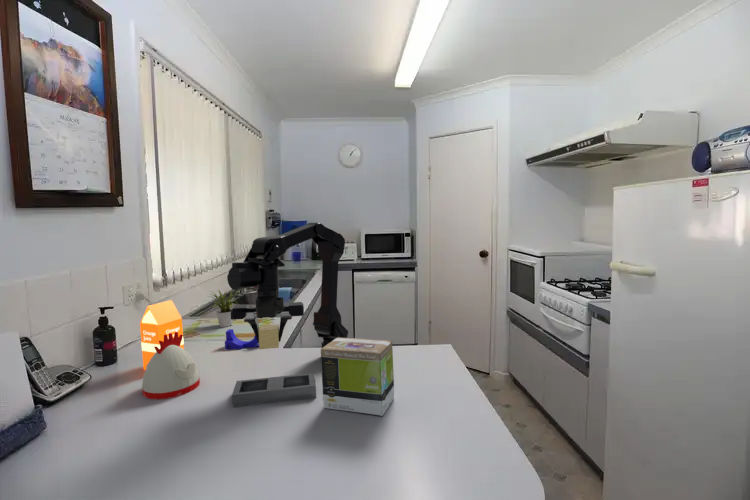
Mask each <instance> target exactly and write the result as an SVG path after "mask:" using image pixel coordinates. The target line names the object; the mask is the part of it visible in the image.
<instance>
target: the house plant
mask: <svg viewBox="0 0 750 500" xmlns="http://www.w3.org/2000/svg"><path fill="white" fill-rule="evenodd" d="M216 291H217V292H218V294H219V296H218V295H217V294H216V293H215V292H214V291H211V290H210V292H211V293H210V295H212V296H210V295H209V296H207V297H209V298H212V299H214V302H213V304H211V305H212V309H215V308H217V309H218V310H217V311H216V316H217V321H218V324H219V327H220V326H221V327H220V328H227V327H226V326H229V327H231V326H230V325H232V324H234V320H232V319H231V310H232V308H233V304H234V305H237V300H233V298H234V297H235V296H236V294H237V293H239V292H240V290H237V291H236V292H235V293H232V291H230V293H229V295H228V297H227V299H226V293H227V291H228V290H225V291H224V294H222V293H221V291H220V289H218V290H216ZM213 296H214V297H213ZM232 300H233V301H232ZM232 326H233V325H232Z"/></svg>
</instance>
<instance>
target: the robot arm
mask: <svg viewBox="0 0 750 500" xmlns="http://www.w3.org/2000/svg"><path fill="white" fill-rule="evenodd" d="M309 240H311V242H313V243H314V244H315V245H316V246H317V251H318V255H319V257H320V258H321V261H322V268H321V289H320V291H321V292H320V293H321V296H320V297H321V298H320V307H319V308H318V310H317V311H314V312H313V323H312V325H313V328H314V331H316V334H317V337H318V338H322V341H321V342H320V345H321V346H320V349H321V348H323V347H324V346H326V345H327V344H329V343H330V342H332V341H333V340H334V339H336V338H337V337H340V338H348V335H349V330H348V329H347V328H346V327H345V326H344V325H343V324H342V316H341V313H340V312H339V309H338V305H337V304H338V282H339V281H338V280H339V261H340V260H341V258H342V256H343V255H344V251H345V247H346V239H345V237H344V236H343V235H342V234H341V233H338V232H336V231H335V230H333V229H331V228H328V227H326V226H325V225H324V224H322V223H321V222H308V223H306V224H305V225H301V226H299V227H296V228H294V229H291V230H289V231H286V232H284V233H281V234H278V235H271V236H262V237H257V238H256V239H253V241H252V244H251V247H250V249H249V252H248V253H247V255H246V257H244V260H243V262H240V261H239V262H237V261H236V262H232V263H231V267H230V269H229V270H228V273H227V284H228V285H229V287H230V288H231V290H233V291H240V290H243V289H249V288H250V289H251V288H256V299H255V307H249V304H234V305H233V306H232V308H231V309H232V310H231V319H232V320H233V321H234V320H236V321H237V320H243V322H244V323H248V325H250V327H251V329H252V330H253V334H254V337H255V336H256V338H257V341H258V343H259V328H260V326H259V325H260V324H259V319H265V318H269V319H272V318H275V317H277V314H280V320H279V342H281V340H282V337H283V334H284V329H285V327H286V324H288V323H287V322H288V321H290V320H292V319H293V317H304V316H305V311H304V310H305V306H304V305H305V304H304V303H303V302H302V301H294V302H293V301H292V302H291V301H290V302H288V305H285V303H284V302H285V301H284V300H285V299H284V297H283V296H281V297H280V290H279V289H280V287H279V268H281V267H285V266H286V265H285V263H284V262H283V261H281V260H280V257H282V256H283V255H285V254H286V253H287V251H288V249H290V248H292V247H295V246H297V245H299V244H302V243H305V242H306V241H309Z"/></svg>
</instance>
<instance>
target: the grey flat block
mask: <svg viewBox="0 0 750 500" xmlns="http://www.w3.org/2000/svg"><path fill="white" fill-rule="evenodd" d="M315 377H316V376H315V372H312V373H311V372H310V373H302V374H301V373H300V374H292V375H291V374H290V375H283V376H281V375H280V376H273V377H270V376H269V377H262V378H253V379H245V380H244V379H243V380H237V381H236V382H235V385H234V387H233V391H232V394H231V403H232V408H237V407H245V406H254V405H264V404H271V403H280V402H289V401H296V400H305V399H316V398H317V384H316V378H315Z"/></svg>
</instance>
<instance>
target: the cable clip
mask: <svg viewBox="0 0 750 500" xmlns="http://www.w3.org/2000/svg"><path fill="white" fill-rule="evenodd" d="M250 348H259V343H258V341H257V338H256V336H255V335H254V337H253V339H251V340H247V341H244V340H241V339H240V338H238V337H237V336H236V334H235V331H234V329H233V328H232V329H229V328H228V329H227V330H226V331H225V341H224V350H243V349H250Z"/></svg>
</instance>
